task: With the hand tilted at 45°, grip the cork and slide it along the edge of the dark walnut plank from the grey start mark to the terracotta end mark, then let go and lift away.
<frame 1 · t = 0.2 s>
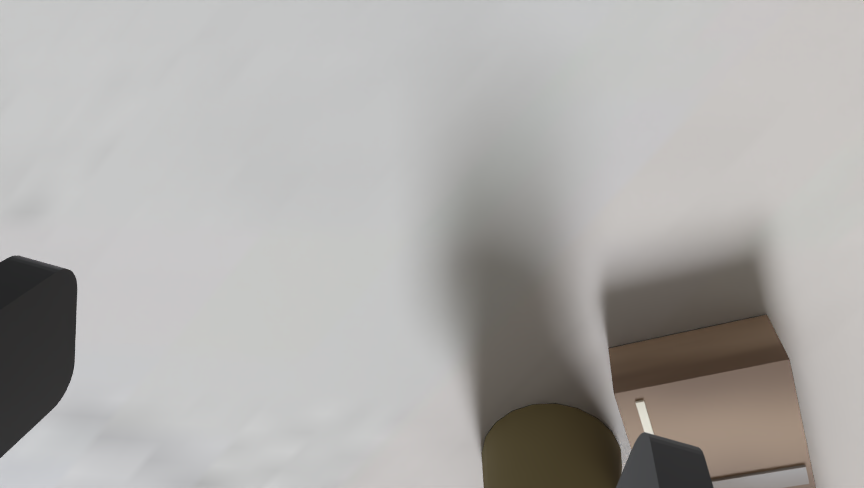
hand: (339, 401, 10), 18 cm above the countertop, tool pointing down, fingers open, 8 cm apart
cork: (550, 456, 33), on the countertop
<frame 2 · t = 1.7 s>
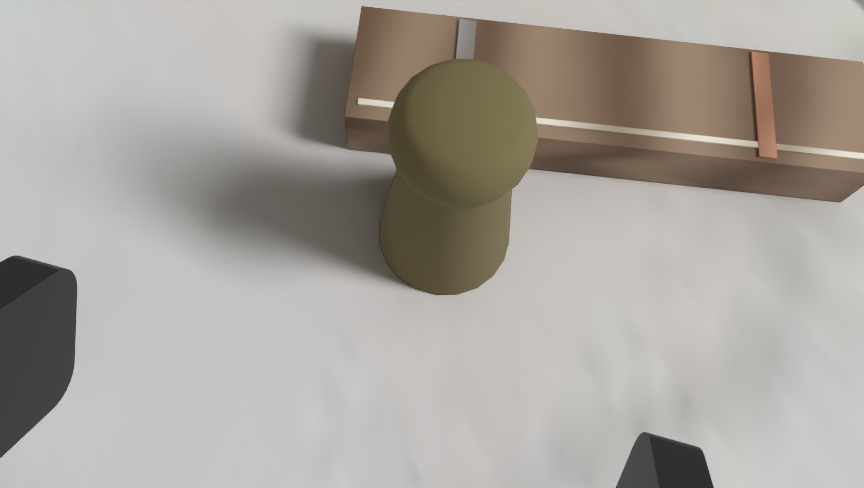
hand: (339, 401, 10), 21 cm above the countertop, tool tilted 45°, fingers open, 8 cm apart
walnut plank: (596, 121, 37), on the countertop
cork: (443, 234, 35), on the countertop
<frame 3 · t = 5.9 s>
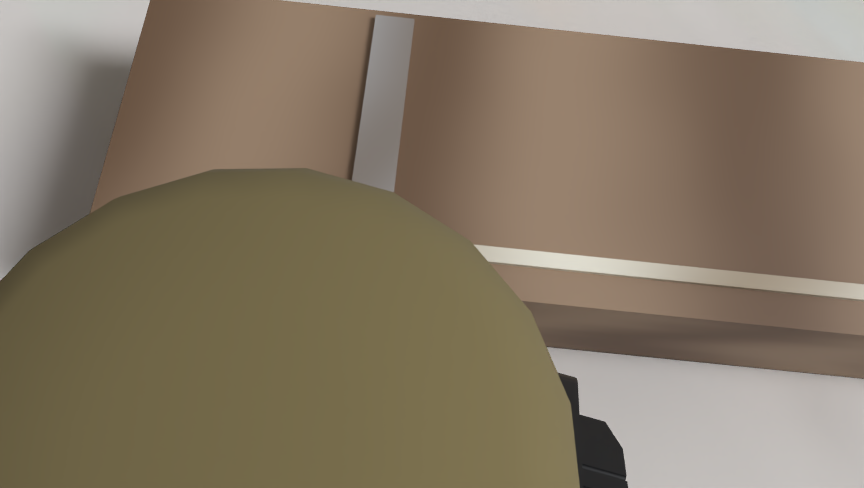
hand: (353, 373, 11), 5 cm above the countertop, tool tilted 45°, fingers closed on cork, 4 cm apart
walnut plank: (679, 233, 17), on the countertop
when the fingers open (4 cm above the countertop, at t = 10.2 s): cork stays where it is, on the countertop.
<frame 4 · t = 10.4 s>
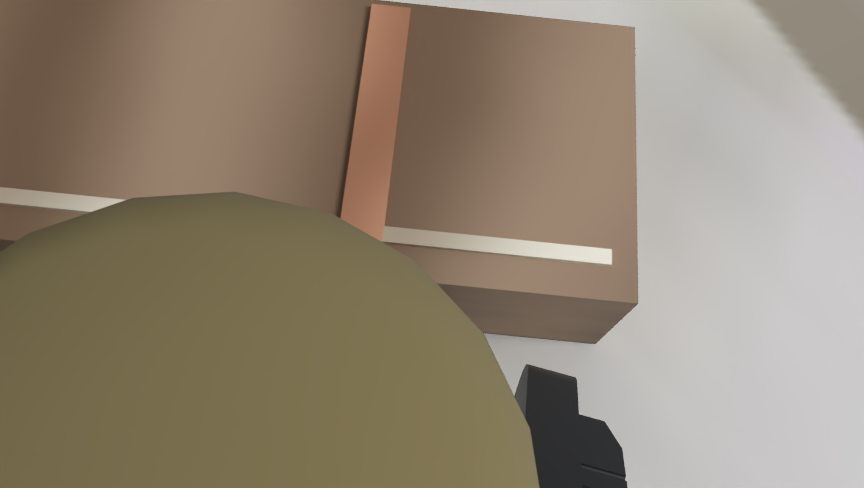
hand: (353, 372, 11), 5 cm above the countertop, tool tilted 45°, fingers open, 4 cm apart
walnut plank: (74, 163, 17), on the countertop
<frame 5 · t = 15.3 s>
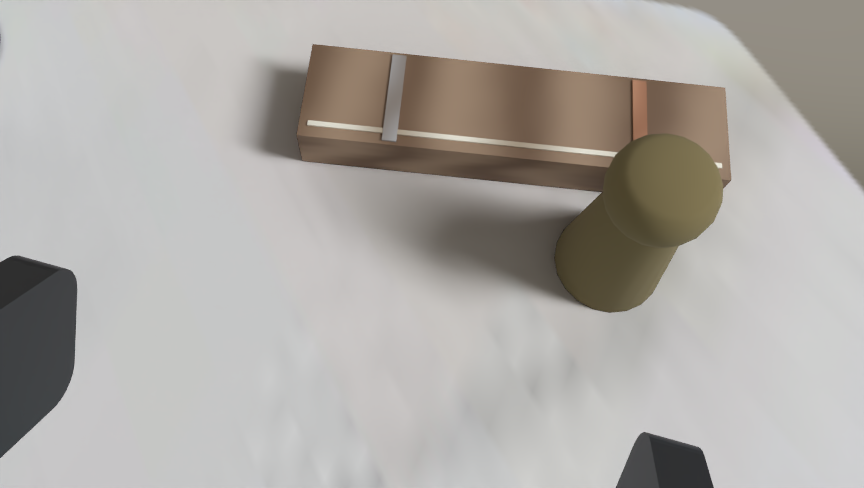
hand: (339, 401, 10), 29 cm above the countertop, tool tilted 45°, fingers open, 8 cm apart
walnut plank: (509, 137, 45), on the countertop
cork: (606, 262, 42), on the countertop
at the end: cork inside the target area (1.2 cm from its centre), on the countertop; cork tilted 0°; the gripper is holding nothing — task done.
